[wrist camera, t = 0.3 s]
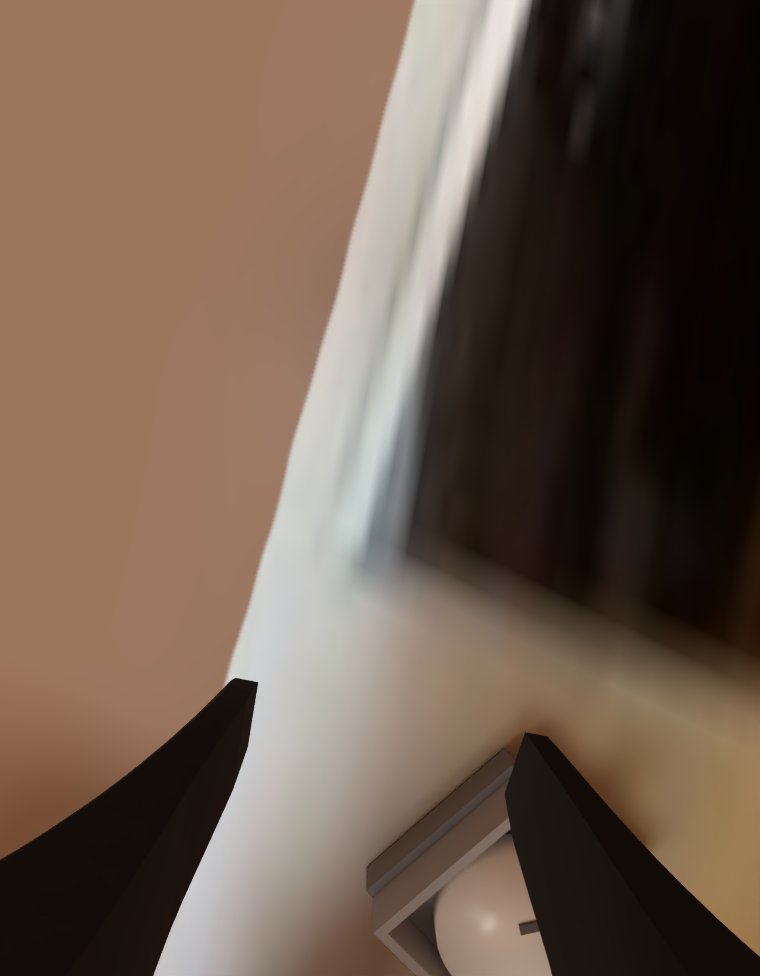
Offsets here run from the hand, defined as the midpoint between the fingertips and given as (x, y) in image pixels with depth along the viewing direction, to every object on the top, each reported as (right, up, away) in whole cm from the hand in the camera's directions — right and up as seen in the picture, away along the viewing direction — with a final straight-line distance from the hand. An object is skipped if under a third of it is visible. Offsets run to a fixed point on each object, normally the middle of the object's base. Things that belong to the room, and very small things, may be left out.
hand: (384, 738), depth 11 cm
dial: (+7, -15, +10) cm, 19 cm away
